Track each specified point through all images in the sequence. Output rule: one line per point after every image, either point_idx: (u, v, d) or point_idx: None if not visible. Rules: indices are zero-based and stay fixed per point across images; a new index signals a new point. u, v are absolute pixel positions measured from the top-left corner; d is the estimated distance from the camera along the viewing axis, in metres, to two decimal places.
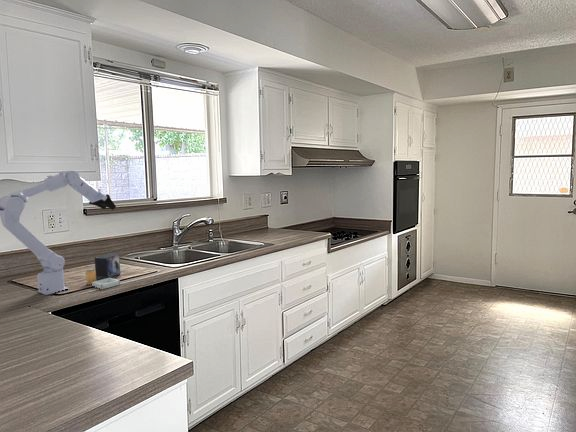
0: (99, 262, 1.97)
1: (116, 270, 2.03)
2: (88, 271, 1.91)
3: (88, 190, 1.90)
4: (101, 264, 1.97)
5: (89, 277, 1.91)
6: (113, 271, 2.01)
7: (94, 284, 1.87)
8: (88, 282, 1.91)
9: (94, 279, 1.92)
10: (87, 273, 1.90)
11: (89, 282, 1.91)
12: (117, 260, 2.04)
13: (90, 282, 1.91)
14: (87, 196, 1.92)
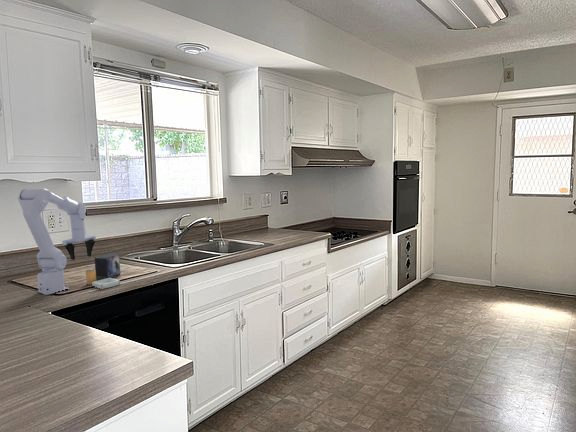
0: (99, 262, 1.97)
1: (116, 270, 2.03)
2: (88, 271, 1.91)
3: (83, 227, 1.98)
4: (101, 264, 1.97)
5: (89, 277, 1.91)
6: (113, 271, 2.01)
7: (94, 284, 1.87)
8: (88, 282, 1.91)
9: (94, 279, 1.92)
10: (87, 273, 1.90)
11: (89, 282, 1.91)
12: (117, 260, 2.04)
13: (90, 282, 1.91)
14: (84, 231, 1.99)
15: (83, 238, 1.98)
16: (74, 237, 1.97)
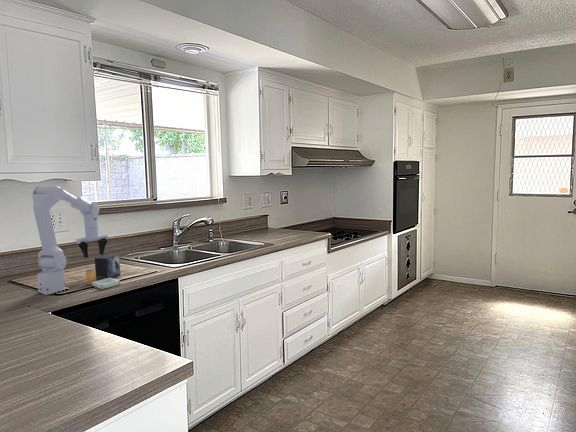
0: (99, 262, 1.97)
1: (116, 270, 2.03)
2: (88, 271, 1.91)
3: (95, 227, 2.04)
4: (101, 264, 1.97)
5: (89, 277, 1.91)
6: (113, 271, 2.01)
7: (94, 284, 1.87)
8: (88, 282, 1.91)
9: (94, 279, 1.92)
10: (87, 273, 1.90)
11: (89, 282, 1.91)
12: (117, 260, 2.04)
13: (90, 282, 1.91)
14: (97, 230, 2.05)
15: (96, 237, 2.04)
16: (87, 236, 2.03)
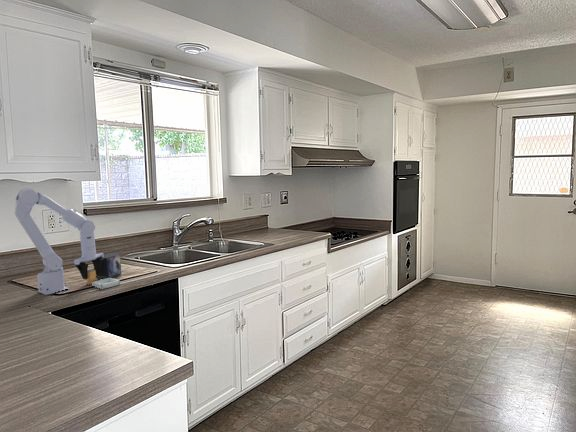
0: None
1: (117, 270, 2.04)
2: (88, 271, 1.91)
3: (88, 246, 1.88)
4: None
5: (89, 277, 1.91)
6: (114, 271, 2.02)
7: (94, 284, 1.87)
8: (88, 282, 1.91)
9: (94, 279, 1.92)
10: (87, 273, 1.90)
11: (89, 282, 1.91)
12: (118, 260, 2.05)
13: (90, 282, 1.91)
14: (95, 249, 1.91)
15: (95, 256, 1.91)
16: (86, 256, 1.89)
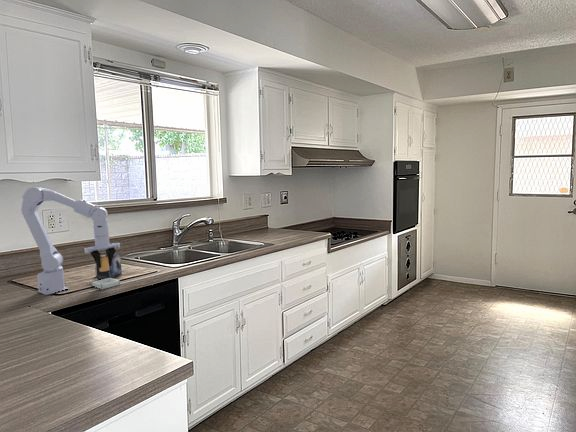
0: None
1: (117, 270, 2.04)
2: (100, 257, 1.86)
3: (99, 235, 1.84)
4: None
5: None
6: (114, 270, 2.02)
7: (94, 284, 1.87)
8: (100, 268, 1.87)
9: (105, 266, 1.87)
10: None
11: (100, 268, 1.86)
12: (118, 260, 2.05)
13: (101, 268, 1.86)
14: (107, 238, 1.86)
15: (106, 246, 1.85)
16: (97, 244, 1.84)
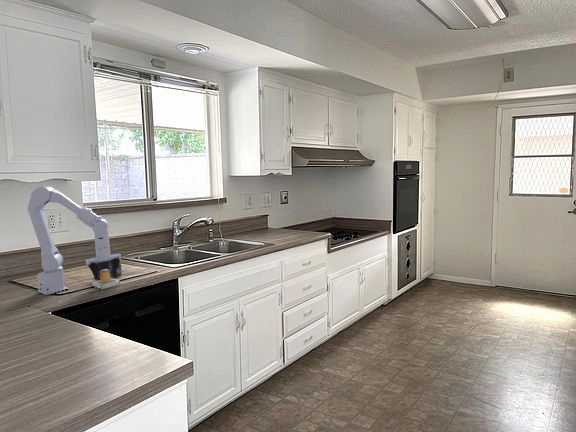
0: (100, 262, 1.98)
1: (117, 270, 2.04)
2: (101, 271, 1.87)
3: (100, 247, 1.84)
4: (102, 264, 1.98)
5: (102, 277, 1.87)
6: None
7: (94, 284, 1.87)
8: (101, 282, 1.88)
9: (106, 280, 1.87)
10: (100, 273, 1.87)
11: (102, 282, 1.87)
12: None
13: (103, 283, 1.87)
14: (108, 250, 1.86)
15: (107, 257, 1.86)
16: (98, 256, 1.85)
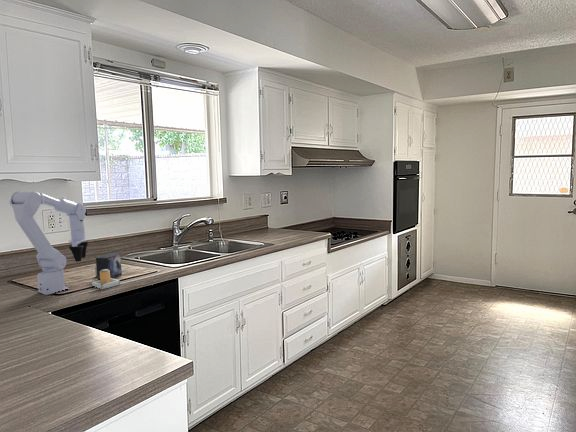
0: (100, 262, 1.98)
1: (117, 270, 2.04)
2: (101, 271, 1.87)
3: (81, 229, 1.94)
4: (102, 264, 1.98)
5: (102, 278, 1.87)
6: (114, 270, 2.02)
7: (94, 284, 1.87)
8: (101, 283, 1.88)
9: (106, 280, 1.87)
10: (100, 273, 1.87)
11: (102, 282, 1.87)
12: (118, 260, 2.05)
13: (103, 283, 1.87)
14: None
15: (85, 238, 1.97)
16: (79, 238, 1.94)
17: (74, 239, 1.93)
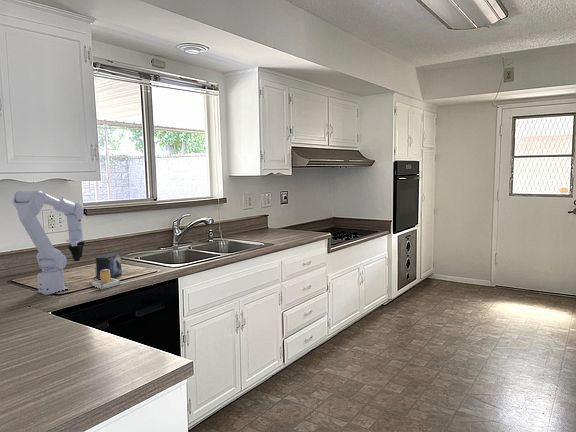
0: (100, 262, 1.98)
1: (117, 270, 2.04)
2: (101, 271, 1.87)
3: (80, 228, 1.95)
4: (102, 264, 1.98)
5: (102, 277, 1.87)
6: (114, 270, 2.02)
7: (94, 284, 1.87)
8: (101, 282, 1.88)
9: (107, 280, 1.87)
10: (100, 273, 1.87)
11: (102, 282, 1.87)
12: (118, 260, 2.05)
13: (103, 283, 1.87)
14: None
15: None
16: (77, 238, 1.95)
17: (72, 239, 1.94)
